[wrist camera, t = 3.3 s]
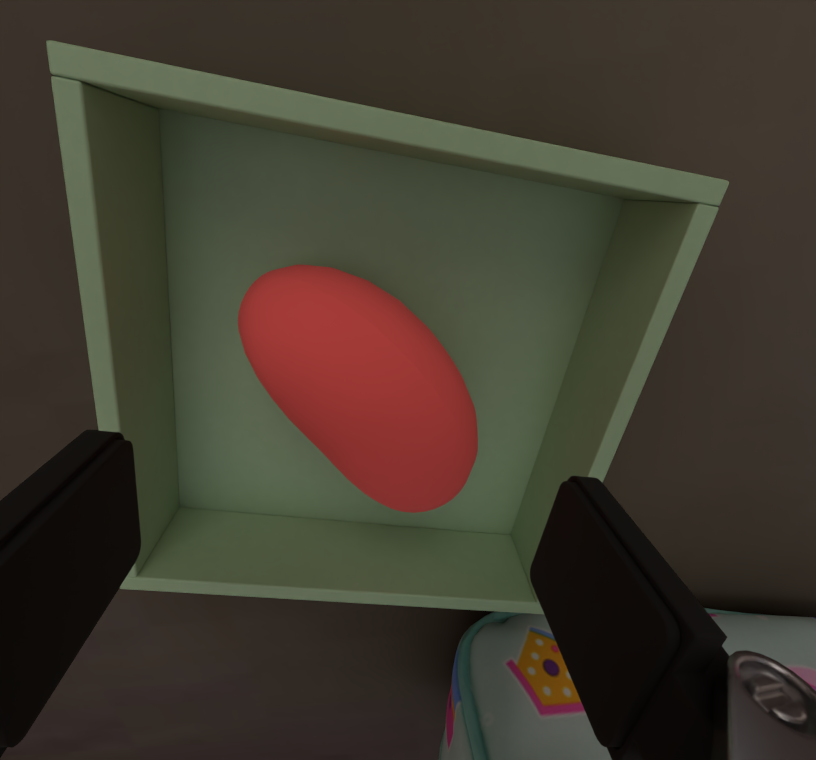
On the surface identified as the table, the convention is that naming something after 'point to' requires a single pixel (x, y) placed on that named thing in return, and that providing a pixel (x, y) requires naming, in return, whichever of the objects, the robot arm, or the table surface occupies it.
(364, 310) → the red oval piece
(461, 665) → the lunch box
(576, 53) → the table surface
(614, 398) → the tote
